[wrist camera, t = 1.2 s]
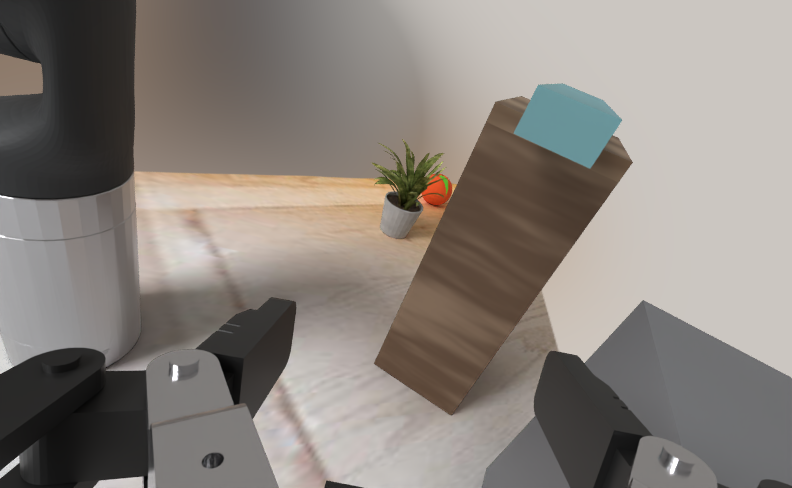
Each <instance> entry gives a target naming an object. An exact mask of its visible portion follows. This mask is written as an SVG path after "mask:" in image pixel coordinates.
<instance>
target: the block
mask: <svg viewBox="0 0 792 488" xmlns="http://www.w3.org/2000/svg"><path fill="white" fill-rule="evenodd" d="M621 121H622V119H621V118H620V117H619V116H618V115H617V114H616V113H615V112H614V111H613V110H612V109H611V108H610V107H609V106H608V105H607V104H606V103H605V102H604V101H603V100H601V99H599V98H596V97H594V96H591V95H589V94H587V93H584V92H582V91H579V90H577V89H575V88H572V87H570V86H567V85H565V84H545V85H538V86H537V88H536V90H535V92H534V94H533V96H532V98H531V100H530V102H529V104H528V106H527V108H526V110H525V112H524V114H523V116H522V118H521V120H520V121H519V123H518V125H517V127H516V129H515V131H514V133H513V134H515V135H518V136H520V137H522V138H524V139H526V140H529V141H531V142H533V143H535V144H537V145H539V146H542V147H544V148H546V149H548V150H550V151H553V152H555V153H557V154H559V155H561V156H563V157H566V158H568V159H570V160H572V161H574V162H577V163H579V164H581V165H583V166H585V167H587V168H591V167H592V165H593V164H594V162H595V161H596V159H597V158H598V156H599V155H600V153H601V152H602V150H603V149H604V147H605V146H606V144H607V143H608V141H609V140H610V138H611V137H612V135H613V133H614V132H615V130H616V129H617V127H618V126H619V124H620V122H621Z"/></svg>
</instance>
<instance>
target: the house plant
mask: <svg viewBox="0 0 792 488" xmlns="http://www.w3.org/2000/svg"><path fill="white" fill-rule="evenodd" d="M402 140H403V139H402ZM403 142H404V143H405V146H406V166H407V176H406V174H405V172H404V170H403V167H402V164H401V162H400V160H399V158H398V157H397V155H396V154H395V153H394V152H393V151H392V150H390V149H389V148H387V147H386V146H384V145H383V146H384V147H385V148H387V149H388V150H390V151H391V152H392V153H393V154H394V155H395V156H396V158H397V159H398V161H399V163H400V164H399V163H398V162H397V171H395V170H390V171H389V170H387V169H386V168H384V167H382V166H380V165H377V164H375V163H372V164H373V165H375V166H376V167H377V168H379V169H380V170H382V171H383V172H381V171H380V172H381V173H382V174H383V175H384V176H385V177H386V176H388V177H389V178H390V179H391V180H392V181H393V182H394V183H395V184H396V185H397V186H398V189H399V191H398V189H397V188H396V186H395V184H394V183H393V182H392V181H391V180H389V179H388V178H387V177H386V178H385V177H378V178H376V179H380V180H379V181H378V182H376V183H375V184H390V185H393V186H394V187H395V188H396V190H397V192H395V191H394V192H388V193H387V194H386V196H385V201H384V207H383V213H382V218H381V224H380V229H381V230H382V232H383V233H385V234H386V235H388V236H390V237H392V238H396V239H402V238H405V237H406V235H407V234H408V232H409V231H410V229H411V228H412V226H413V224H414V223H415V221H416V220H417V218H418V217H419V215H420V214H421V212H422V211H423V206H422V204H421V203H420V202H419V201H418V200H417V197H418V196H419V195H420V194H421V193H422V192H424V191H425V190H427V187H428V186H430V185H431V184H434V183H436V182H438V181H440V180H443V179H439V180H436V181H434V182H431V183H429V182H430V181H431V180H433V179H434V178H435V177H436V176H438V175H439V174H440V173H441V172H442V171H443V170H444V169H445V168H443V169H442V170H440V171H439V172H437V173H436V174H435V175H434V176H433V177H431V178H430V176H431V175H432V174H433V173H434V172H435V171H436V170H437V169H438V168H439V167H440V165H441V164H442V163H443V162H441V163H440V164H439V165H437V166H436V167H435V168H434V169H433V170H432V171H431V172H430V173H429V174H428V175H427V176H426V177H424V176H425V174H426V173H427V172H428V170H429V169H430V168H431V166H432V165H433V164H434V163H435V162H436V161H437V160H438V159H439V158H440V156H441V155H443V153H440V154H437V155H435V156H434V157H432V158H430V159H429V160H428V161H427V162H426V160H427V158H428V156H429V153H428V154H427V155H426V156H425V157H424V159H423V160H422V161H421V162H420V163H419V165H418V166H417V168H416V171H415V173H414V154H413V152H412V151H411V153H412V158H411V156H410V149H409V147H408V145H407V144H406V142H405V141H403ZM381 145H382V144H381ZM425 162H426V163H425ZM392 172H393V173H395V174H396V175H397V176H396V175H395V174H393V173H392ZM401 174H402V177H401ZM402 179H403V180H402ZM444 179H446V178H444ZM428 183H429V184H428ZM375 184H374V185H375ZM391 187H392V186H391ZM392 189H393V187H392ZM393 190H394V189H393ZM429 194H436V195H440V196H442V197H443V198H444V196H443V195H441V194H439V193H428V194H425V195H429ZM425 195H423V196H425ZM423 196H421V197H423ZM421 197H419V198H421ZM419 198H418V199H419Z"/></svg>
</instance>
